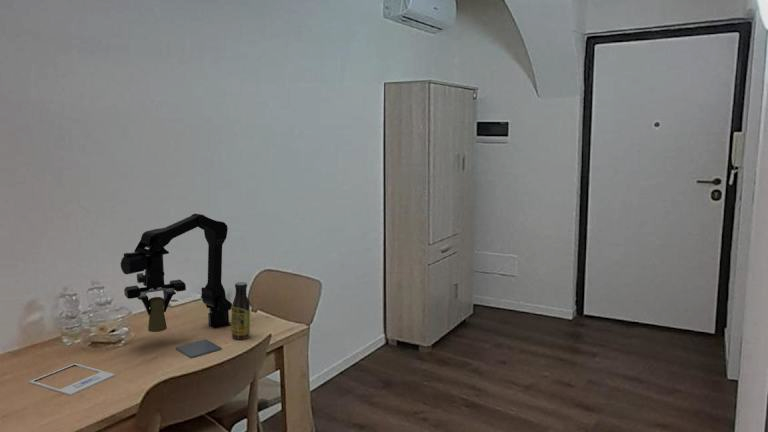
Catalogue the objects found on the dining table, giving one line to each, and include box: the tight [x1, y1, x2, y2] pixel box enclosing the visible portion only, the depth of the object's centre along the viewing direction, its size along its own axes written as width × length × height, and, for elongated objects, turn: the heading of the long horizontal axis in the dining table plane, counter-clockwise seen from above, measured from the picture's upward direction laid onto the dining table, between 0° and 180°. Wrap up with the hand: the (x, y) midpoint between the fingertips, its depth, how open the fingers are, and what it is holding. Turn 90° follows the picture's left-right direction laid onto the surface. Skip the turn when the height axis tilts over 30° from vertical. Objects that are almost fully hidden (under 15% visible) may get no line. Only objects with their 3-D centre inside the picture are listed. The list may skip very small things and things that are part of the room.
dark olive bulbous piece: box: [147, 296, 168, 333], centre depth 197 cm, size 6×6×11 cm
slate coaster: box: [175, 338, 223, 359], centre depth 195 cm, size 11×11×1 cm
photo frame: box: [28, 363, 116, 396], centre depth 171 cm, size 15×1×18 cm
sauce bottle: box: [231, 281, 251, 340], centre depth 205 cm, size 7×6×20 cm
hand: (156, 313), depth 197 cm, fingers closed on dark olive bulbous piece, 5 cm apart
